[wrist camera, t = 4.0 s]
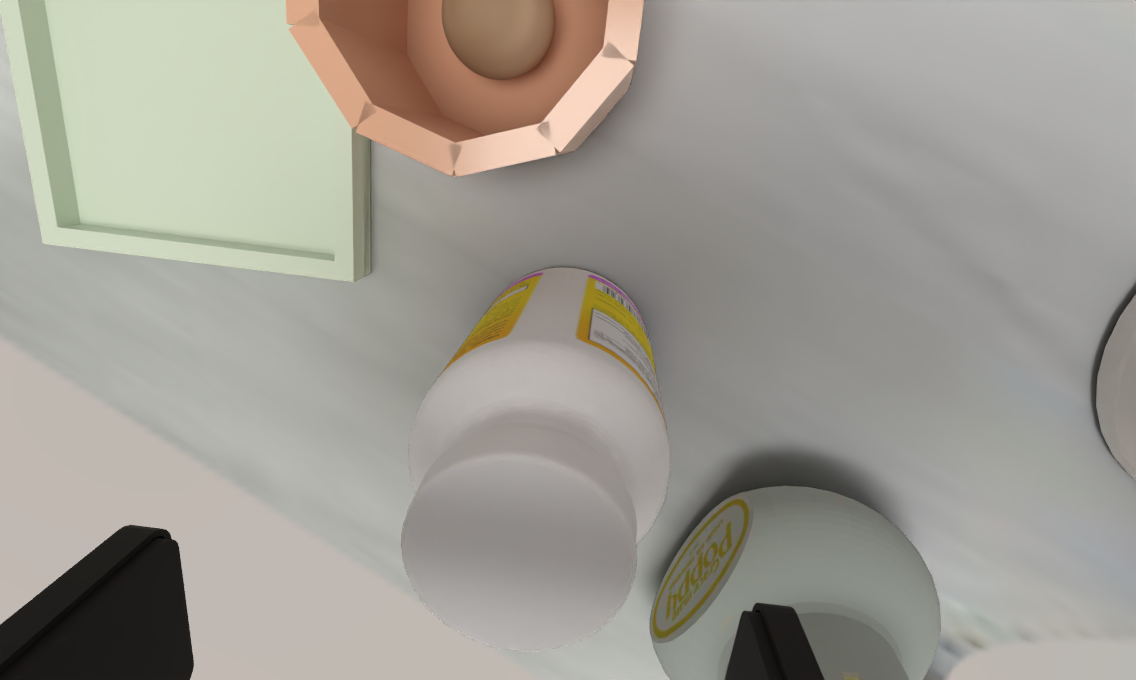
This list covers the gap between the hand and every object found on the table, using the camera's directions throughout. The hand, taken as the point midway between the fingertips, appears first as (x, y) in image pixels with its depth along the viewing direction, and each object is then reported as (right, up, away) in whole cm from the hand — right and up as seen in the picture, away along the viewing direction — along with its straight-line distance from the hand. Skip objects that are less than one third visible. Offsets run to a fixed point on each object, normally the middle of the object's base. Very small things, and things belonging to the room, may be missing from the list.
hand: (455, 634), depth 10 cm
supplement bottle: (+2, +5, +14) cm, 15 cm away
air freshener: (+11, -5, +17) cm, 20 cm away
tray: (-11, +14, +12) cm, 21 cm away
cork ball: (0, +15, +10) cm, 18 cm away
